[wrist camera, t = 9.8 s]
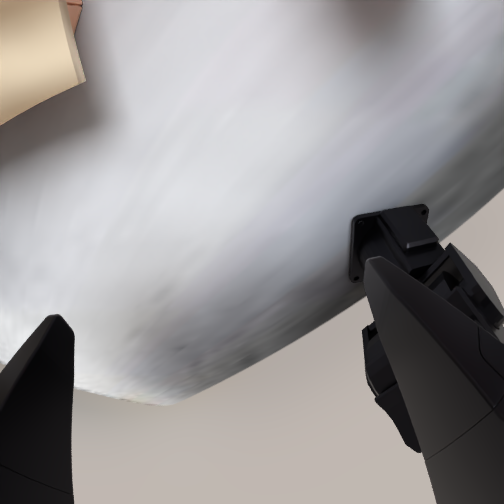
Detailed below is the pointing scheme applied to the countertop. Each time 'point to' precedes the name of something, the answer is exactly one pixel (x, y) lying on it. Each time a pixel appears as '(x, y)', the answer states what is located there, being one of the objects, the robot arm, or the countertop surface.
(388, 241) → the robot arm
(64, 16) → the board
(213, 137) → the countertop surface
